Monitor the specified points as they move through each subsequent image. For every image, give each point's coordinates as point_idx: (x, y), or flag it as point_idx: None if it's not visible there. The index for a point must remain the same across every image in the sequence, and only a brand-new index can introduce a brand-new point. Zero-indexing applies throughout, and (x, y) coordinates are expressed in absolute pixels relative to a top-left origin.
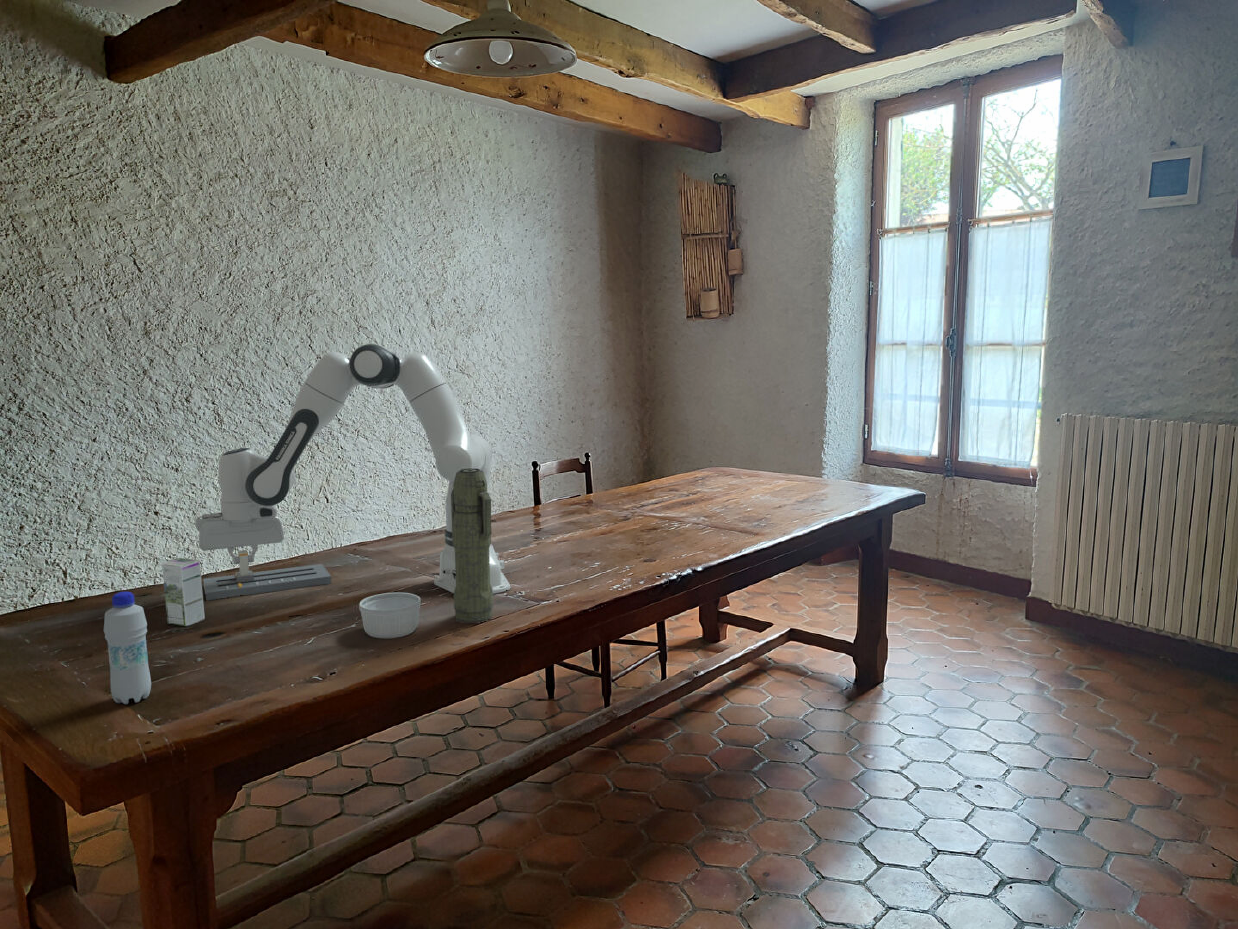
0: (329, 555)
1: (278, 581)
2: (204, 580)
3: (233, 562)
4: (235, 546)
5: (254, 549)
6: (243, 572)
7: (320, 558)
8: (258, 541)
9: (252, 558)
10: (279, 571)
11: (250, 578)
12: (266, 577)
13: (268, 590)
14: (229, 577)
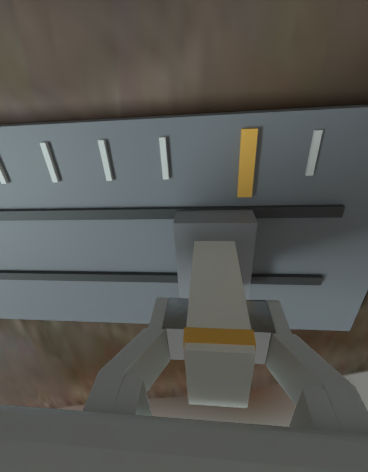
0: (10, 393)
1: (66, 158)
2: (353, 311)
3: (281, 309)
4: (311, 440)
5: (125, 372)
6: (221, 248)
7: (25, 384)
8: (34, 456)
9: (160, 312)
10: (88, 299)
11: (191, 215)
12: (128, 248)
13: (121, 118)
14: None
